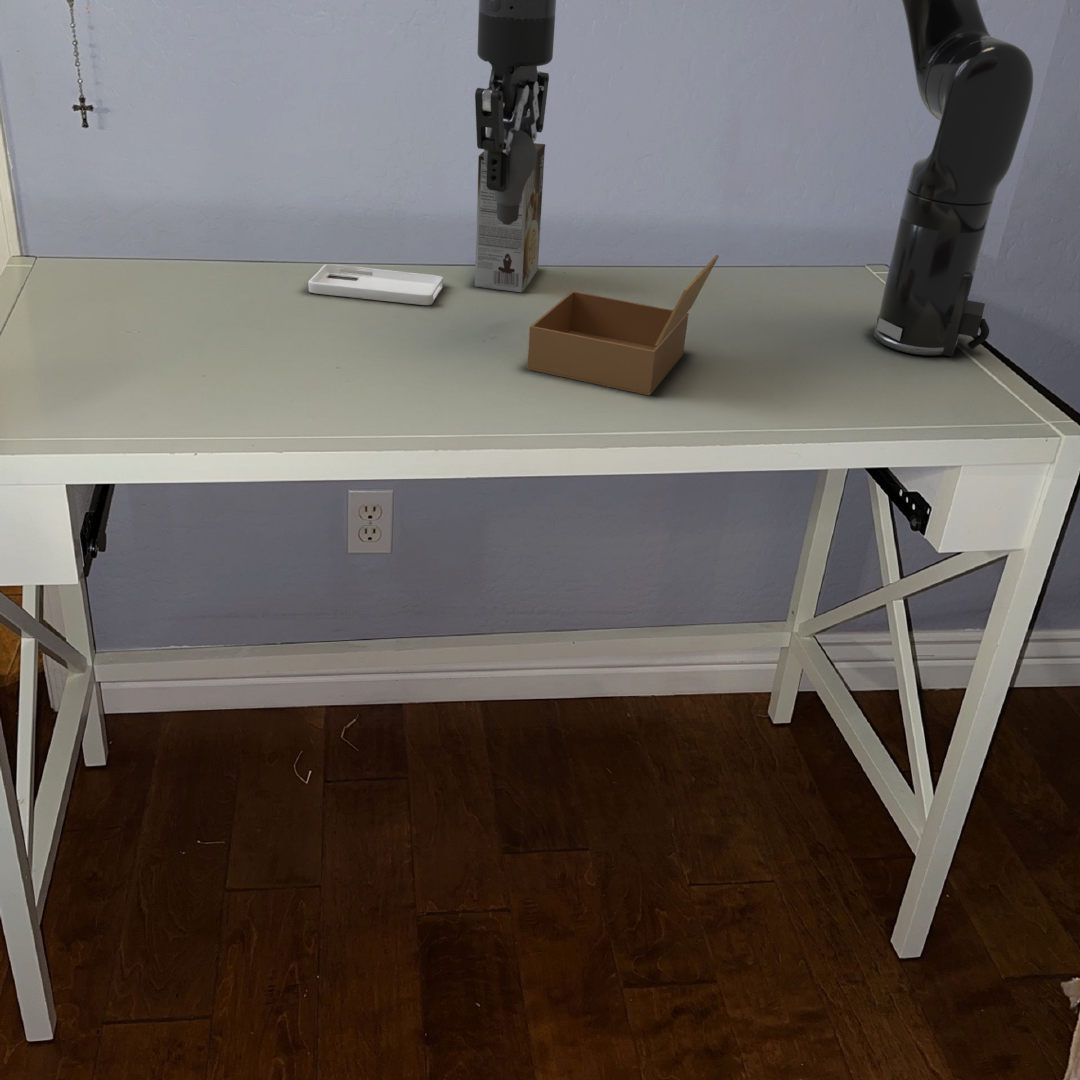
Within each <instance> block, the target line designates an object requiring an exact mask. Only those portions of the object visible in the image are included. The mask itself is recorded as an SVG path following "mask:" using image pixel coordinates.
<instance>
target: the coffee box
mask: <svg viewBox="0 0 1080 1080" xmlns="http://www.w3.org/2000/svg"><path fill="white" fill-rule="evenodd" d="M534 144H535V147H536V151H537V161H536V165H535V167H534V169H533V171H532V173H531V176H530V177H529V178H528V180H527V182H526V184H525V187H524V190H523V194H522V201H521V203H520V204H519V214H518V219H517V221H515V222H512V224H510V225H505V224H503V222H502V221H500V220H498V218H497V202H496V201H495V191H493V190H489V189H488V188H487V185H486V184H487V168H486V165H485V162H484V151H482V152H481V153H480V154H479V155H478V157H477V158H478V160H477V161H478V162H477V163H478V164H477V165H478V166H477V170H478V171H477V196H476V197H477V199H476V200H477V201H476V233H475V234H476V235H475V261H474V262H475V263H474V264H475V267H474V287H476V288H483V289H484V288H485V289H492V290H499V291H500V290H501V291H507V292H516V293H524V291H525V290H526V288H527V287H528V285H529V284H530V282H531V281H532V280H533V278H534V276H535V275H536V274H537V272H538V270H539V255H540V241H541V240H540V238H541V223H542V221H541V220H542V205H543V204H542V203H543V187H544V168H545V154H546V153H545V151H546V143H537V142H534Z"/></svg>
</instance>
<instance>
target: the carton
mask: <svg viewBox="0 0 1080 1080" xmlns="http://www.w3.org/2000/svg"><path fill="white" fill-rule="evenodd" d="M673 310H674V309H669V308H664V307H659V306H653V305H649V304H643V303H638V302H633V301H627V300H623V299H622V300H621V299H617V298H612V297H607V296H601V295H595V294H592V293H591V294H590V293H585V292H582V291H575V290H571V291H570V292H569V293H568V294H567V295H565V296H564V297H562V299H560V300H559V301H557V303H556V304H555V305H553V306H552V307H551V308H550V309H549V310H548V311H547V312H545V313H544V314H543V315H542V316H540V317H539V318H538V319H537V320H536V321H534V322H533V323H532V324H531V325H530V326H529V333H528V334H529V335H528V350H527V351H528V352H527V366H526V367H527V368H526V369H527V370H529V371H533V372H538V373H543V374H547V375H552V376H556V377H557V376H558V377H561V378H566V379H569V380H570V379H571V380H575V381H579V382H585V383H589V384H594V385H598V386H603V387H608V388H612V389H618V390H622V391H626V392H630V393H635V394H639V395H645V396H651V395H652V394H653V393H654V391H655V390H656V389H657V388H658V386H659V385H660V384H661V383H662V381H663V380H664V379H665V377H666V376H667V375H668V374H669V373H670V371H671V370H672V369H673V368H674V367H675V365H676V364H677V363H678V362H679V360H680V359H681V358H682V357H683V355H684V351H685V343H686V338H687V337H686V336H687V329H688V322H689V312H687V313H686V314H685V316H684V317H683V318H682V319H681V320H680V321H679V323H678V324H677V325H676V326H675V327H674V328H673V329H672V331H671V332H670V333H669V334H668V335H667V336H666V337H665V339H664V340H663V341H662V342H661V343H660V344H659V345H658V347H657V346H655V344H656V342H657V340H658V338H659V337H660V335H661V333H662V331H663V329H664V327H665V325H666V323H667V321H668V320H669V318H670V316H671V314H672V312H673Z"/></svg>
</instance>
